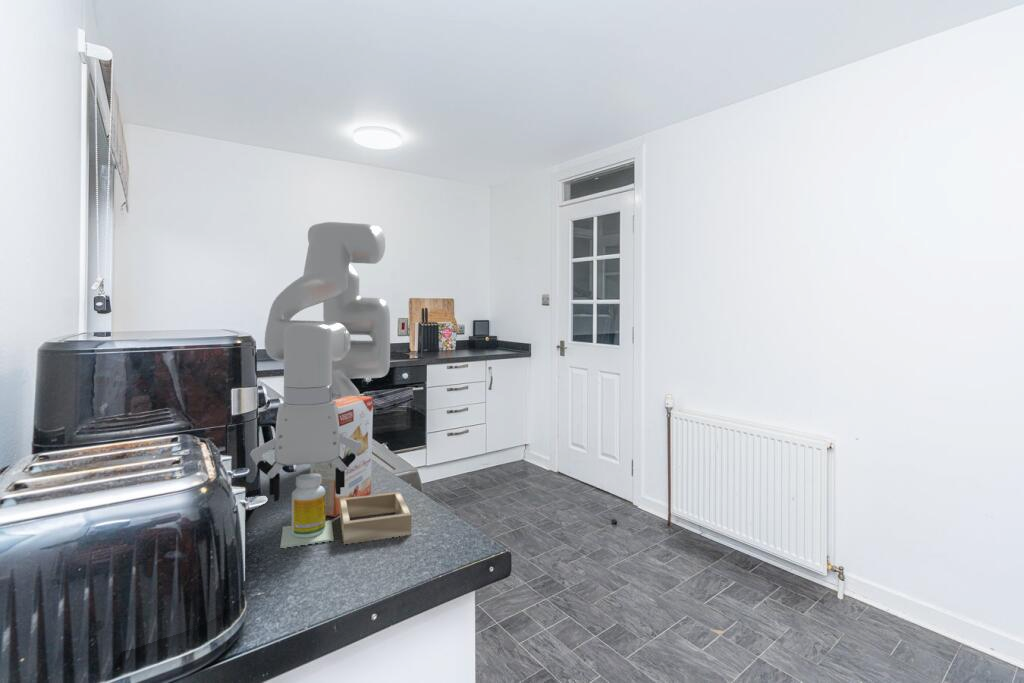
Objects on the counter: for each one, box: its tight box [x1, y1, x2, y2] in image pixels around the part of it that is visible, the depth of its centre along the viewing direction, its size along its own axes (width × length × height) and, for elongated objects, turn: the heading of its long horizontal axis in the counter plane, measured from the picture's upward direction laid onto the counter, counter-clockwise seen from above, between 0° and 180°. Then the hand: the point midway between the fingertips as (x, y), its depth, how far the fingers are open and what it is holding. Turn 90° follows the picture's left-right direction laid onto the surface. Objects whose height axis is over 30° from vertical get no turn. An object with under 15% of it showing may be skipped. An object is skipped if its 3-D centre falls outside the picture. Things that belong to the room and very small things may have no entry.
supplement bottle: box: [290, 473, 326, 538], centre depth 82 cm, size 5×5×10 cm
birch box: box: [339, 491, 412, 546], centre depth 86 cm, size 12×11×4 cm
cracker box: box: [309, 395, 374, 518], centre depth 96 cm, size 14×6×21 cm, turn 168°
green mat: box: [279, 520, 334, 549], centre depth 82 cm, size 8×8×1 cm
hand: (308, 495), depth 82 cm, fingers open, 9 cm apart
